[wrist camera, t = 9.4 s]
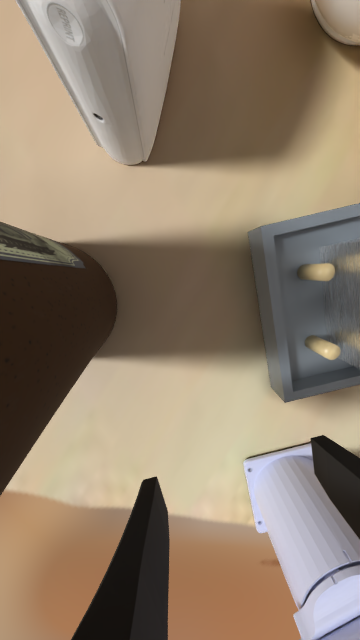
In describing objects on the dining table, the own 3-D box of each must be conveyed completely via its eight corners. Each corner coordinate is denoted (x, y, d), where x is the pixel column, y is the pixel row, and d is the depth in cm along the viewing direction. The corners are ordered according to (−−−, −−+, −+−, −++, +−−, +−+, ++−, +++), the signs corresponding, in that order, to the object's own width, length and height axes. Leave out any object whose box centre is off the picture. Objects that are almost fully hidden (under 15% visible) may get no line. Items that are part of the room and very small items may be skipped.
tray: (414, 352, 21) (462, 368, 18) (271, 387, 21) (291, 410, 18) (416, 192, 18) (475, 174, 15) (247, 232, 18) (267, 223, 15)
